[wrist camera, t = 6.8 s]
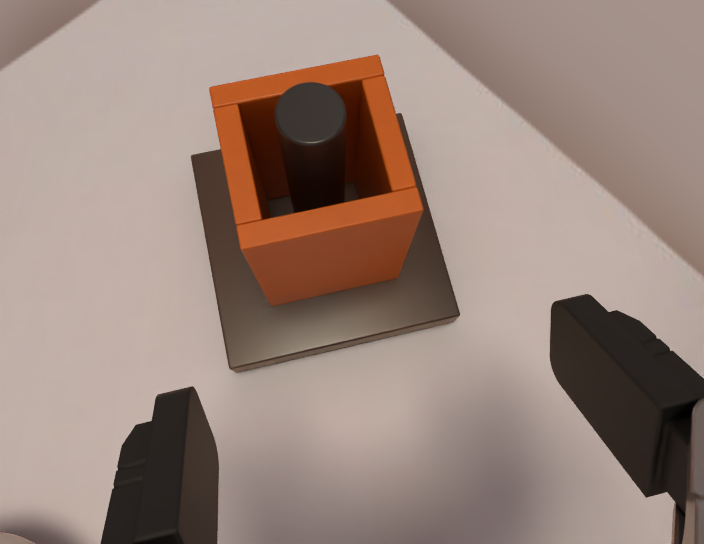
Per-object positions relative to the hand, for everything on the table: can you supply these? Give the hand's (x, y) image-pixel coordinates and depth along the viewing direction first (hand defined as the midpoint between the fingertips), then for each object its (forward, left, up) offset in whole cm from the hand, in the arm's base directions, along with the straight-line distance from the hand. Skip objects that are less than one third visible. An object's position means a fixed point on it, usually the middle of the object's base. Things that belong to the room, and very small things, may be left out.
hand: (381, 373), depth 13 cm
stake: (0, -7, -13) cm, 15 cm away
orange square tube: (0, -7, -11) cm, 14 cm away
